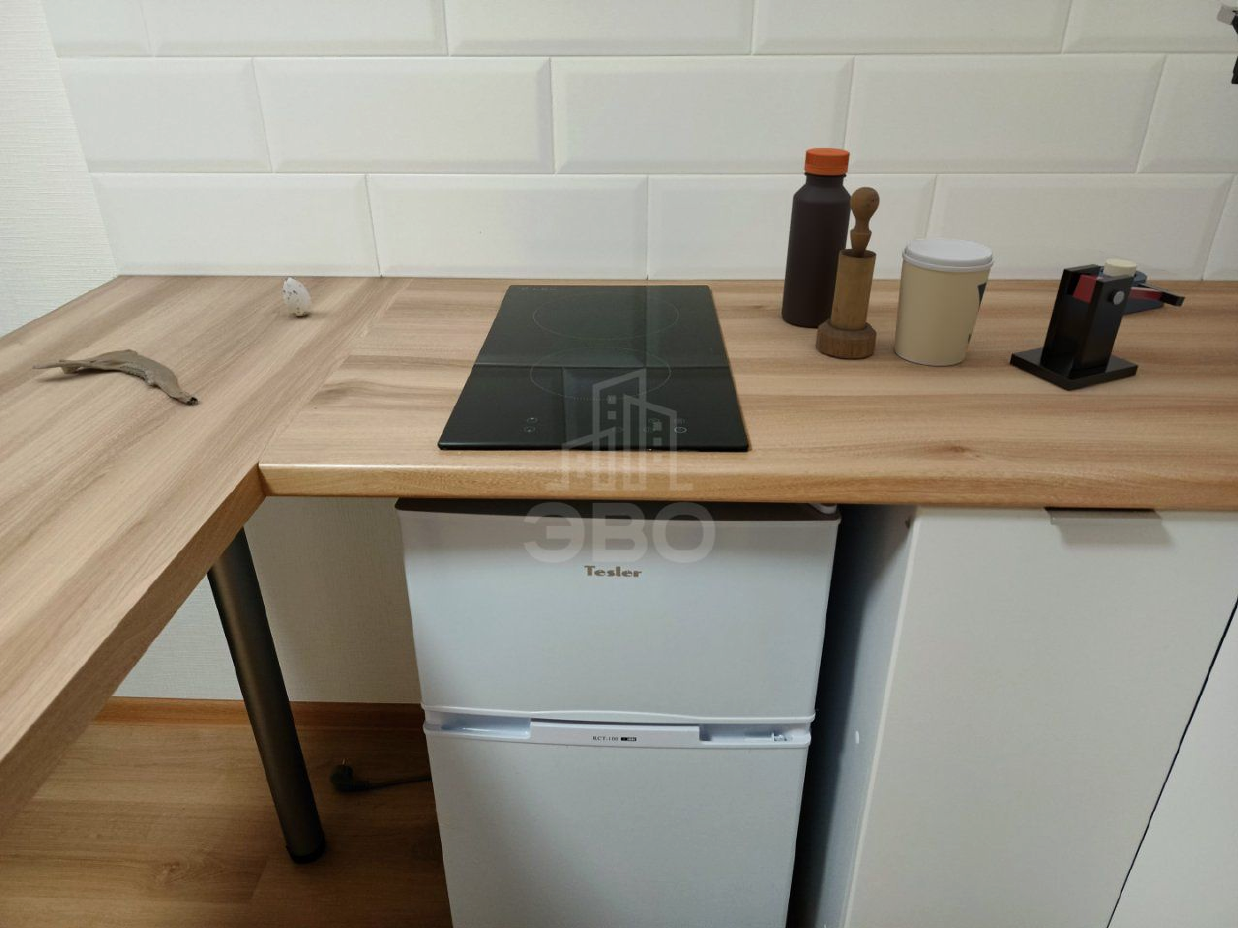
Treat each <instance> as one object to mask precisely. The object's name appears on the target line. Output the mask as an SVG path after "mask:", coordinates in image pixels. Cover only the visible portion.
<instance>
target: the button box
mask: <svg viewBox="0 0 1238 928" xmlns="http://www.w3.org/2000/svg"><path fill="white" fill-rule="evenodd" d="M1100 266H1101V269H1100V272H1099V277H1102V278H1109V277H1112V276H1108V275H1105V274H1103V270H1104V266H1105V265H1100ZM1147 279H1148V275H1147V274H1146V273H1144V272H1143V271H1139V270H1138V269H1136V271H1135V274H1134V281H1133V284H1132V287H1137V285H1138V284H1139V283H1140V284H1146V285H1149V286H1153V287H1156V288H1159V289H1162V290H1165V291H1168V292H1169V290H1168V289H1165V288H1161V287H1158V286H1156V285H1152V284H1149V283H1147ZM1164 306H1165V303H1164V302H1161V301H1158V300H1147V299H1134V298H1128V301H1127V304H1126V307H1125V310H1124V314H1123V316H1124V315H1129V314H1134V313H1138V312H1143V311H1148V310H1154V309H1159V308H1163V307H1164Z"/></svg>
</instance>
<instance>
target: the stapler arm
mask: <svg viewBox="0 0 1238 928" xmlns="http://www.w3.org/2000/svg"><path fill="white" fill-rule="evenodd" d="M1097 279H1103V278H1102V277H1099V276H1091V275H1081V276H1080V279H1079V281H1078V284H1077V286H1076V289H1075V291H1074V294H1073V296H1072V297H1074V298H1077V299H1079V300H1082V301H1085V302H1088V303H1090V300H1091V297H1092V293H1093V290H1094V286H1095V283H1096V280H1097ZM1146 284H1147V283H1146ZM1146 284H1140V283H1139V284H1138V285H1137V287H1131V291H1130V294H1129V297H1128V298H1134V299H1147V300H1158V301H1161V302H1164V304H1166V305H1170V306H1173V307H1182V305H1183V303H1184V301H1185V299H1186V296H1184V295H1181V294H1178V293H1174V292H1171V291H1169V290H1168V291H1165V290H1166V289H1165V290H1162V289H1163V288H1162V289H1159V288H1160V287H1159V288H1156V287H1157V286H1156V287H1153V286H1154V285H1152V286H1149V285H1150V284H1149V285H1146Z"/></svg>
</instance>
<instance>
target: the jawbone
mask: <svg viewBox="0 0 1238 928" xmlns="http://www.w3.org/2000/svg"><path fill="white" fill-rule="evenodd" d="M57 368H61V370H62V371H63V374H65V375H70V374H74V373H75V372H77V370H79V369H80V368H90V369H96V370H97V369H98V370H105V371H106V370H112V371H121V372H123V373H124V372H125V373H126V374H130V375H134V376H139V377H140V378H144V380H145V382H146V383H147V385H150V386H154V385H155V386H158V387H159V388H160V389H161V390H162V391H163V392H164V393H166V394H167V395H168V396H170V397H171V398H174V399H177V400H178V401H179V402H180V403H184V404H194V403H197V402H199V399H198V398H196V397H195V396H194V395H192V394H191V393H190V392H187V391H185V390H182V389H181V388H180V387H179V384H178V382H177V381H178V380H177V378H176V375H175V373H174V372H173V371H172V369H170V368H169V367H168V366H166V365H164V364H163V363H160V362H158V361H157V360H153V359H151V358H149V357H147V356H144V355H142V354H141V355H140V354H139V353H138V351H137V350H134V349H131V348H127V349H121V350H113V351H108V352H103V353H101V354H98V355H96V356H93V357H90V358H84V359H76V360H73V359H72V360H71V359H59V360H58V361H56V362H50V363H44V364H35V365H32V367H31V369H32V370H43V369H44V370H47V369H57Z"/></svg>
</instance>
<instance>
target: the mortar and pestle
mask: <svg viewBox="0 0 1238 928" xmlns="http://www.w3.org/2000/svg"><path fill="white" fill-rule="evenodd" d="M880 200H881V199H880V194H879V193H878V191H877V190H876V189H875V188H873V187H870V186H862V187H858V188H857V189H855V191H854V192H853V193H852V194H851V199H850V207H851V212H852V215H853V217H854V219H855V222H854V226H853V228H851V229H850V230H849V238H850V245H851V248H846V249H844V250H841V251H840V253H839V261H838V270H837V278H836V285H835V293H834V300H833V307H832V314H831V318H830V319H828V320H826V321H825V322H824V323H822V324H820V325H819V327H817V331H816V338H815V347H816V349H817V350H818V351H819V352H821V353H823V354H825V355H828V356H833V357H836V358H841V359H863V358H867V357H870V356H871V355H873V354H874V352H875V349H876V342H877V341H876V340H877V331H876V329H875V328H873V327H872V325H871V324H870V323H869V322H867V320H868V313H869V305H870V298H871V292H872V285H873V279H874V272H875V267H876V260H877V253H876V252H875V251H872V250H869V249H867V248H868V245H869V243H870V240H871V237H872V235H873V231H872V230H871V229H870V221H871V219H872V217H873V216H874V215H875V213H876V211H877V210H878V208H879V206H880V202H881V201H880Z"/></svg>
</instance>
